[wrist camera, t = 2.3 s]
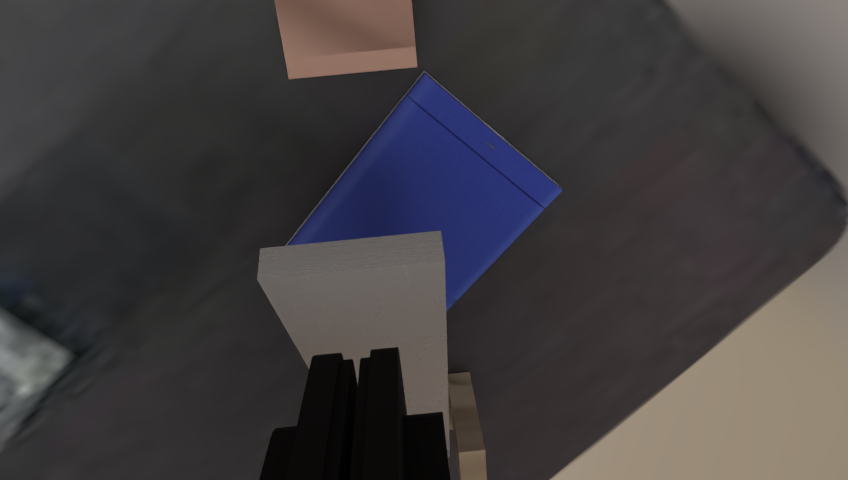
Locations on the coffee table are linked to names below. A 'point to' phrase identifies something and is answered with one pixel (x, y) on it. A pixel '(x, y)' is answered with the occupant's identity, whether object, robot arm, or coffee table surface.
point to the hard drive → (435, 186)
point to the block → (346, 36)
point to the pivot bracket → (466, 427)
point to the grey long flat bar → (368, 306)
